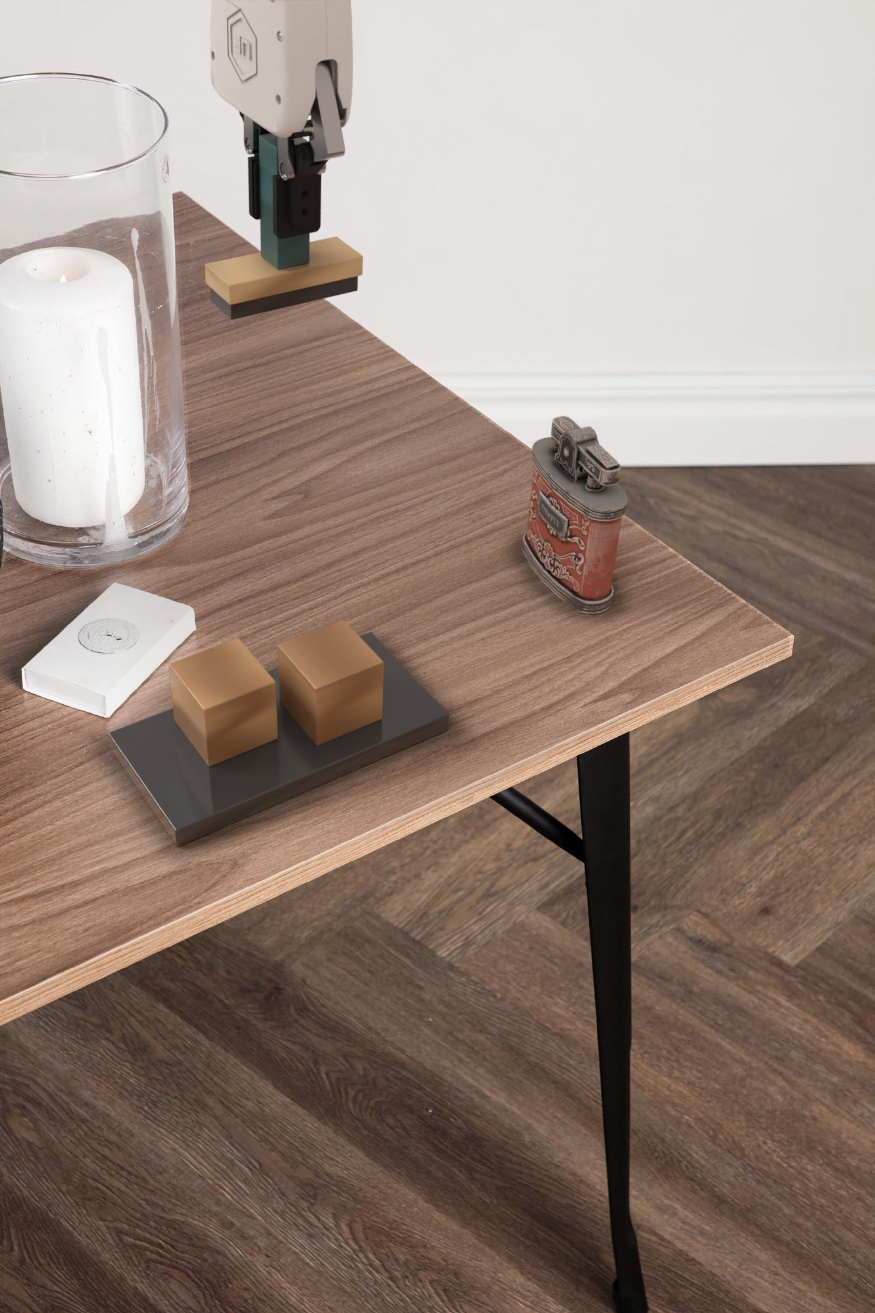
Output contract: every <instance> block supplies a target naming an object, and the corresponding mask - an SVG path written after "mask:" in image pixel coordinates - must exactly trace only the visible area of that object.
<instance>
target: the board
mask: <svg viewBox="0 0 875 1313" xmlns="http://www.w3.org/2000/svg"><path fill="white" fill-rule="evenodd" d="M359 636H360V637H361V639H362V640H363V641H364V642H365V643H366V644H367V645H368V646H369V647H370V648H371V649H372V650H373V651H374V652H375V653H376V654H377V656H378V657H379V658H380V659H381V660H382V661H383V662H384V670H383V709H382V719H380V720H378V721H376V722H373V723H371V724H368V725H366V726H364V727H361V728H359V729H356V730H354V731H352V732H349V733H347V734H345V735H342V736H340V737H337V738H335V739H333V740H330V741H328V742H325V743H323V744H321V745H318V746H317V745H316V744H315V743H314V742H313V741H312V740H311V738H310V737H309V736H308V735H307V734H306V732H305V731H304V730H303V729H302V728H301V726H300V725H299V724H298V723H297V722H296V720H295V719H294V718H293V717H292V716H291V714H290V713H289V712H288V711H287V710H286V708H285V707H284V706H283V705H282V704H281V702H280V701H279V675H278V666H277V667H275V668H272V669H270V670H266V671H267V672H268V673H269V675H270V676H271V677H272V678H273V679H274V681H275V682H276V703H277V727H278V739H276V740H273V741H271V742H269V743H266V744H264V745H261V746H259V747H256V748H254V749H252V750H249V751H247V752H244V753H242V754H239V755H237V756H234V757H232V758H230V759H227V760H225V761H222V762H220V763H217V764H215V765H213V766H210V767H209V766H208V765H207V764H206V762H205V761H204V760H203V758H202V757H201V756H200V754H199V753H198V751H197V750H196V749H195V747H194V746H193V745H192V743H191V742H190V741H189V739H188V738H187V737H186V735H185V734H184V733H183V731H182V730H181V729H180V727H179V726H178V725H177V723H176V722H175V720H174V711H173V707H171V708H168V709H166V710H163V711H161V712H158V713H156V714H153V715H150V716H148V717H145V718H143V719H139V720H138V721H135V722H132V723H129V724H127V725H124V726H121V727H119V728H116V729H114V730H112V731H109V732H108V733H107V738H108V745H109V749H110V751H111V752H112V754H113V755H114V756H115V758H116V760H117V761H118V762H119V764H120V765H121V767H122V769H123V770H124V771H125V773H126V774H127V776H128V777H129V778H130V780H131V781H132V783H133V784H134V786H135V788H136V789H137V790H138V792H139V794H140V795H141V796H142V797H143V799H144V800H145V802H146V803H147V804H148V806H149V808H150V809H151V811H152V812H153V813H154V815H155V816H156V818H157V820H158V821H159V822H160V824H161V825H162V827H163V829H165V831H166V833H167V835H169V838H170V839H171V840H172V841H173V843H174V845H176V847H180V846H183V845H185V844H188V843H191V842H193V841H194V840H197V839H199V838H201V837H204V836H206V835H208V834H211V833H213V832H215V831H217V830H220V829H222V828H224V827H227V826H229V825H231V824H233V823H237V822H238V821H241V820H244V819H245V818H247V817H250V816H252V815H256V814H257V813H259V812H262V811H264V810H266V809H268V808H271V807H274V806H276V805H278V804H280V803H282V802H284V801H287V800H289V799H291V798H294V797H296V796H299V795H301V794H303V793H305V792H308V791H310V790H312V789H314V788H316V787H320V786H321V785H324V784H326V783H328V782H330V781H333V780H335V779H337V778H340V777H342V776H345V775H346V774H347V775H348V774H349V773H351V772H354V771H356V770H359V769H361V768H363V767H365V766H368V765H370V764H373V763H374V762H376V761H379V760H382V759H384V758H386V757H389V756H391V755H393V754H396V753H398V752H400V751H403V750H404V749H407V748H410V747H411V746H414V745H416V744H419V743H420V742H423V741H425V740H428V739H430V738H432V737H434V736H437V735H439V734H441V733H443V732H446V731H448V730H449V727H450V713H449V711H447V710H446V709H445V707H444V706H443V705H442V704H440V702H439V701H438V700H437V699H436V698H435V697H434V696H433V694H431V693H430V692H429V691H428V690H427V688H426V687H425V686H424V685H423V684H421V682H419V680H418V679H417V678H416V677H415V676H414V675H413V674H412V673H411V672H410V671H409V670H408V668H406V666H404V665H403V663H402V662H401V661H399V659H398V658H397V657H396V656H395V655H394V654H393V653H392V652H391V651H390V650H389V648H387V646H386V645H384V644H383V642H382V641H381V640H380V639H379V638H378V637H377V636H376V635H375V634H374V633H373V632H372V631H368V632H366V633H363V634H361V635H359Z"/></svg>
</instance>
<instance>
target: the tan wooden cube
mask: <svg viewBox="0 0 875 1313" xmlns="http://www.w3.org/2000/svg"><path fill="white" fill-rule="evenodd" d="M267 671H268V670H267V669H265V667H264V666H263V665H262V663H260V662H259V661H258V658H256V657H255V655H254V654H253V653H252V652H251V651H250V650H249V649H248V647H247V646H246V645H245V644H244V642H243V641H242V640H241V639H240V638H238V637H237V638H234V639H232V640H229V641H226V642H224V643H221V644H219V645H216V646H215V645H214V646H213V647H211V648H210V647H209V648H207V649H205V650H202V651H200V652H197V653H194V654H192V655H189V656H186V657H183V658H181V659H178V660H175V661H172V662H169V663H168V673H169V681H170V690H171V692H170V693H171V699H172V708H173V711H174V720H175V722H176V723H177V725H178V726H179V727H180V729H181V730H182V731H183V733H184V734H185V735H186V737H187V738H188V739H189V741H190V742H191V743H192V745H193V746H194V747H195V749H196V750H197V751H198V753H199V754H200V756H201V757H202V758H203V760H204V761H205V762H206V764H207V765H208V766H209V767H210V766H213V765H215V764H217V763H220V762H222V761H225V760H227V759H230V758H232V757H234V756H237V755H239V754H242V753H244V752H247V751H249V750H252V749H254V748H256V747H259V746H261V745H264V744H266V743H269V742H271V741H273V740H276V739H278V727H277V703H276V682H275V681H274V679H273V678H272V677H271V676H270V675H269V673H268V672H267Z"/></svg>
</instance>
